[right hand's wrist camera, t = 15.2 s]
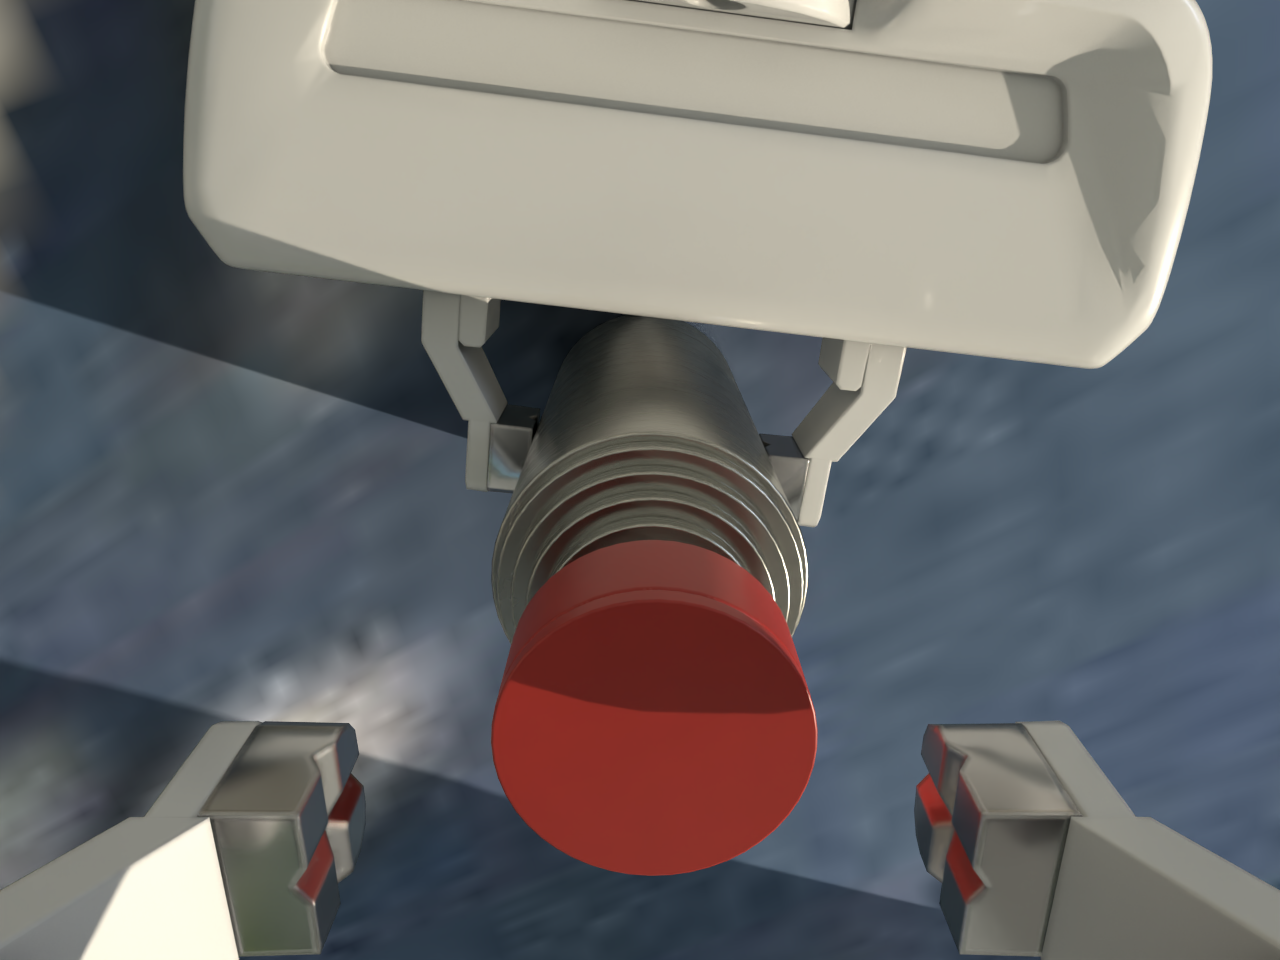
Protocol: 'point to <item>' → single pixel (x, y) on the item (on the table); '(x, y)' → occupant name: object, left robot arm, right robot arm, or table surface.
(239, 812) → the right robot arm
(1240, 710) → the table surface
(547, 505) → the bottle
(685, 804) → the cap
